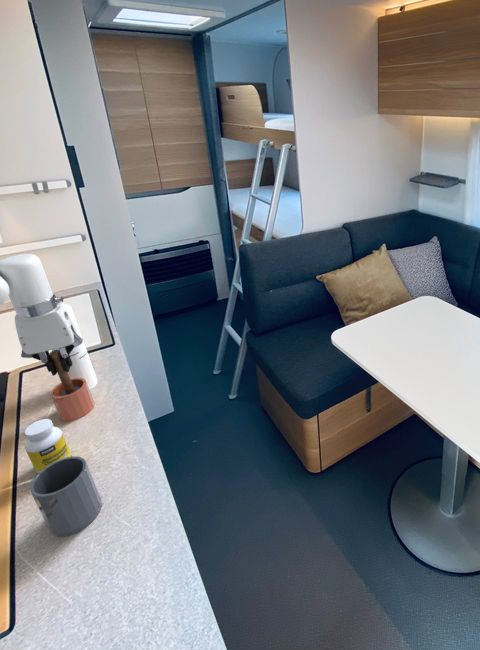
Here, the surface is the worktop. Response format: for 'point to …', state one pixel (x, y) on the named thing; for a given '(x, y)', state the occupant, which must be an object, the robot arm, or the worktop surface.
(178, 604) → the worktop surface
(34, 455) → the pill bottle
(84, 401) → the cup
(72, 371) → the cylindrical container
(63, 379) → the brush
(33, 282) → the robot arm
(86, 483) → the tumbler
